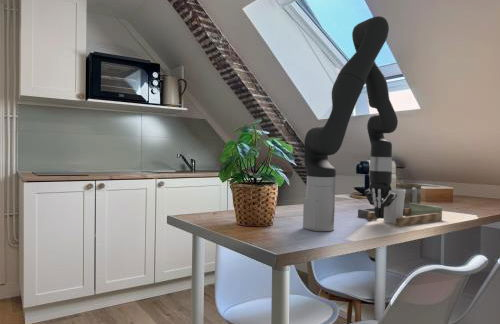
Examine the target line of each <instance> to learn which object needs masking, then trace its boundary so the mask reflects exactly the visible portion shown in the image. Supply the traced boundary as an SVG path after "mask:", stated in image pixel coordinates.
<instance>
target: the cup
mask: <svg viewBox="0 0 500 324" xmlns="http://www.w3.org/2000/svg"><path fill="white" fill-rule="evenodd" d="M391 191H392V192H393V193H394V194H397V197H396V198H395V199H394V200H393V202H392V203H391V204H390V205H389V206H388V207H384V218H383V222H385V223H388V224H389V223H390V224H396V218H399V217H404V215H403V208H404V200H405V192H406V190H404V189H396V188H392V187H391ZM387 198H388V196H387Z"/></svg>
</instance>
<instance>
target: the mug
mask: <svg viewBox="0 0 500 324" xmlns="http://www.w3.org/2000/svg"><path fill="white" fill-rule="evenodd" d="M395 185H396V186H395V187H396V188H395V189H404V190H406V192H405V200H404V208H409V203H416V204H421V200H422V194H421V193H422V184H421V183H414V182H413V183H412V182H396V183H395Z"/></svg>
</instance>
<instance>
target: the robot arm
mask: <svg viewBox="0 0 500 324" xmlns="http://www.w3.org/2000/svg"><path fill="white" fill-rule="evenodd" d="M389 31H390V27H389V22H388V20H387V19H386V18H385V17H383V16H379V15H378V16H373V17H370V18H367V19H366V20H364V21H362V22H359V23H357V24H356V25H355V26H354V27H353V30H352V33H351V35H352V36H351V37H352V42H353V46H354V49H355V53H354V54H353V55H352V56H351V58H349V60H348V61H347V62H346V63H345V64H344V66H343V67H342V68H341V69H340V71H339V73H338V74H337V77H336V78H335V81H334V83H333V85H332V89H331V103H332V105H331V106H332V107H331V111H330V114H329V117H328V119H327V121H326V122H325V124H324V126H317V127H312V128H310V129H309V130H308V131H307V132H306V134H305V137H304V141H303V142H304V143H303V145H304V146H303V148H304V149H303V150H304V151H303V153H304V154H303V155H304V158H303V159H304V167H305V169H306V192H305V194H306V195H305V198H303V209H302V210H303V215H302V216H303V217H302V218H303V219H302V228H303V229H305V230H309V231H313V232H331V231H334V230H335V208H336V207H335V201H336V200H335V199H336V176H337V175H336V174H337V173H336V172H337V171H336V167H334V166H333V165H332V164H331V163H330V162H329V159H328V158H329V156H333V155H335V154H336V153H338V151H339V150H340V148H341V147H342V144H343V142H344V138H345V137H346V132H347V129H348V125H349V121H350V119H351V117H352V114H353V112H354V110H355V107H356V104H357V102H358V100H359V97H360V95H361V94H362V91H363V88H364V86H365V88H366V94H367V102H368V105H369V108H371V109H372V108H373V109H376V111H377V112H378V113H376V114H373V115H371V116H370V117H369V119H368V120H367V123H366V124H367V125H366V130H367V133H368V138H369V141H370V160H369V174H368V176H369V178H368V180H369V187H368V188H367V189H366V190H364V191H363V194H364V195H365V198H366V199H367V201H368V203H369V204H370V206H373V208H375V217H376V218H378V219H384V218H383V216H384V207H388V206H389V205H390V204H391V203H392V202H393V200H394V199H395V198H396V197H397V194H394V193H393V192H392V191H391V188H392V187H391V184H392V182H393V181H392V179H393V176H392V175H393V160H392V159H393V158H392V155H393V154H392V153H393V144H392V142H391V141H390V140H387V139H385V136H384V134H392V133H394V132H395V131H396V130H397V128H398V122H399V121H398V117H397V113H396V111H395V109H394V107H393V104H392V102H391V100H390V95H389V88H388V82H387V79H386V77H385V75H384V74H383V72H382V70H381V69H380V68H379V66H378V64H377V63H376V58H377V57H378V55H379V53H381V52H380V51H381V50H382V48H383V47H384V45H385V43H386V41H387V39H388V37H389ZM387 196H388V198H387Z"/></svg>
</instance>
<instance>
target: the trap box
mask: <svg viewBox="0 0 500 324" xmlns="http://www.w3.org/2000/svg"><path fill="white" fill-rule="evenodd" d="M357 217H360V218H365V219H366V220H367V221H376V220H378V219H377V218H376V217H375V207H369V208H368V207H367V208H360V209H357ZM383 217H384V216H383ZM442 219H443V207H442V206H437V205H428V204H423V203H422V204H421V203H420V204H416V203H409V208H403V217H399V218H396V223H395V227H405V226H412V225H417V224H425V223H432V222H438V221H439V220H440V221H442ZM440 221H439V222H440Z"/></svg>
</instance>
